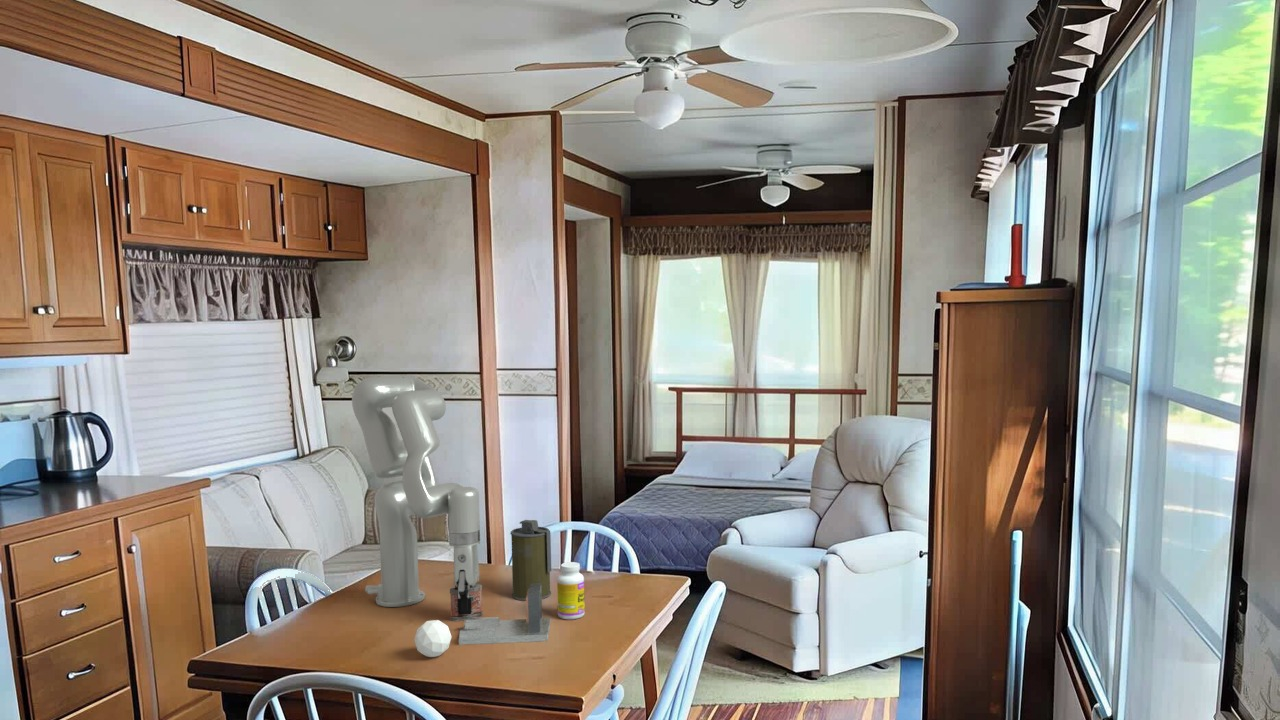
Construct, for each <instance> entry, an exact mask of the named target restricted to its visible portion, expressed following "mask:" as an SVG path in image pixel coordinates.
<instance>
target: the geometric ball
mask: <svg viewBox="0 0 1280 720" xmlns="http://www.w3.org/2000/svg"><path fill="white" fill-rule="evenodd" d="M452 638H453V637H452V634H451V631H450V629H449V626H448V625H447V624H445V623H444V622H442V621H440V620H439V619H436V620H434V619H433V620H426V621H425V622H424V623H423V624H422V625H421V626H419V627H418V628H417V629H416V632H415V636H414V644H415V646H416V649H417V652H418V653H420V654H422V656H423V655H424V656H425V657H426V658H437V657H440V656H441V655H442V654H444V652H446V651H447V650H448V649H450V648H449V647H450V644H451V640H452Z"/></svg>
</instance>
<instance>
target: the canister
mask: <svg viewBox="0 0 1280 720" xmlns="http://www.w3.org/2000/svg"><path fill="white" fill-rule="evenodd" d="M519 524H520V525H521V527H517V528H514V529H512V530H511V531H510V534H509V535H511V570H512V571H511V573H512V575H511V576H512V579H511V580H512V594H511V597H512V598H513V599H515V600H517V601H524V602H526V595H527V591H528V589H530V585H531V584H536V583H541V591H542V600H544V599H547V598H548V597H550V596H551V595H552V590H551V579H550V577H551V576H550V575H551V574H550V573H551V572H552V545H551V543H552V538H551V536H552V535H551V530H550V529H549V528H548V527H545V526H539V524H538V520H537V519H531V520H530V519H524V520H522V521H519Z"/></svg>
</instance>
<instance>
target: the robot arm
mask: <svg viewBox="0 0 1280 720" xmlns="http://www.w3.org/2000/svg"><path fill="white" fill-rule="evenodd" d="M351 405H352V410H353V413H354V416H355V419H356V420H357V423H358V424H359V426H360V428H361V432H362V434H363V435H362V436H363V438H364V443H365V447H366V450H367V451H366V452H367V455H368V458H369V462H370V465H371V469H372V471H373V473H374V476H376V477H377V478H379V479H391V478H393V479H394V478H399V477H402V480H398V481H393V482H389V483H387V484H384V485H382V486H381V487H380V488H378V490H376V493H375V495H374V508H375V511H376V517H377V521H378V531H379V548H380V550H379V551H380V552H379V553H380V581H381V583H378V584H377V585H372V584H371V585H368V584H367V585H365V593H366V594H367V595H377V596H376V597H375V603H376V604H377V606H381V607H387V608H398V607H399V608H400V607H407V606H411V605H416V604H418V603H420V602H422V601H423V600H425V597H426V594H425V593H426V592H424V591H423V589H422V590H421V589H420V586H419V560H418V559H419V557H418V556H419V555H418V552H419V551H418V532H417V529H416V526H415V525H414V523H413V521H412V520H411V519H410V516H413V515H415V516H416V517H418V518H420V519H431V518H434V517H439V516H442V515H443V516H444V515H448V543H449V544H448V545H449V546H450V547H453V581H454V583H455V585H454V587H455V586H456V587H458V614H460V615H461V614H471V613H472V606H471V597H470V585H472V586H474V585H475V584H477V583H478V582H477V580H478V577H479V578H480V566H479V550H478V545H479V544H480V543H481V529H480V528H481V525H480V524H481V523H480V521H481V519H480V494H479V491H478V489H477V488H475V487H471V486H463V485H460V484H458V483H456V482H455V483H454V482H446V483H442V484H438V482H437V478H436V475H435V472H434V468H433V463H432V460H431V456H430V455H431V454H432V453H433V452H435V451H437V449H438V448H439V446H440V445H441V441H440V439H439V435H438V433H437V430H436V428H435V425H434V423H433V421H438V420H441V419H442V418H443V417H444V416H445V413H446V409H447V408H446V401H445V399H444V397H443V395H442V394H441V392H439V391H438V390H437V389H436V388H434V387H433V386H431V385H430V384H428V383H426V382H424V381H423V380H420V379H419V378H418V377H415V376H412V375H407V374H403V375H399V374H398V375H385V376H384V375H383V376H374V377H373V376H372V377H368V378H365V379H362V380H361V381H359V382H358V383H357V384H356V386H355V387H354V389H353V391H352V397H351ZM385 408H386V409H387V408H391V410H392V413H393V417H394V419H395V422H396V424H395V423H394V421H393V420H392V418H391V417H390V416H389V415H388V414H387V413H386V412H384V410H383V409H385ZM396 425H397V428H398V431H399V433H400V436H401V439H402V440H401V439H400V437H399V436H398V432H397V428H396ZM454 583H453V584H454ZM465 583H468V585H465ZM465 588H467V590H465Z"/></svg>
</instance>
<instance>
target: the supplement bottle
mask: <svg viewBox="0 0 1280 720" xmlns="http://www.w3.org/2000/svg"><path fill="white" fill-rule="evenodd" d="M580 569H581V565H580V563H579V562H576V561H575V562H574V561H570V562H564V563H561V565H560V570H561V573H560V574H559V575H558V576H557V580H556V583H557V584H556V585H557V586H556V587H557V588H556V589H557V615H558V616H557V617H559V618H560V619H562V620H570V621H571V620H577V619H581V618H582V617H584V616H585V613H586V612H585V611H586V609H585V607H586V605H585V604H586V603H585V577H584V575H583V574H582V573H580Z"/></svg>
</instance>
